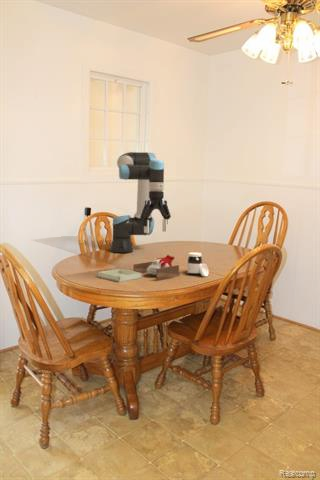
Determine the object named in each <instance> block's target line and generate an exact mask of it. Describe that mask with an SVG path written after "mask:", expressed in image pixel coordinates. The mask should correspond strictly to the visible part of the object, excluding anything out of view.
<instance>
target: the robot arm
mask: <svg viewBox="0 0 320 480" xmlns="http://www.w3.org/2000/svg"><path fill="white" fill-rule="evenodd" d="M116 163H117V165H116V166H117V167H118V177H119V179H120V180H125V181H126V180H127V181H128V180H136V181H137V194H136V195H137V196H136V197H137V198H136V212H135V213H134V215H133V217H132V216H131V215H118V216H114V217H113V219H112V240H111V244H110V247H109V251H110V252H112V253H131V252H134V247H133V243H132V240H131V236H150V235H152V233H153V231H154V229H155V218H154V217H153V215H152V213H153V211H154V210H158V211H159V212H160V213H159V214H161V216H162V232H163V233H164V232H166V233H167V232H168V223H169V222H168V220H170V218H171V212H170V209H169V207H168V201H167V200H164V196H165V195H164V194H165V193H164V188H165V187H164V185H165V184H164V178H165V176H164V175H165V161H163V160H161V159H157V157H156V154H155V153H153V152H141V151H139V152H135V151H129V152H126V153H123V154H121V155H120V156H119V157H118V159H117V161H116Z"/></svg>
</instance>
